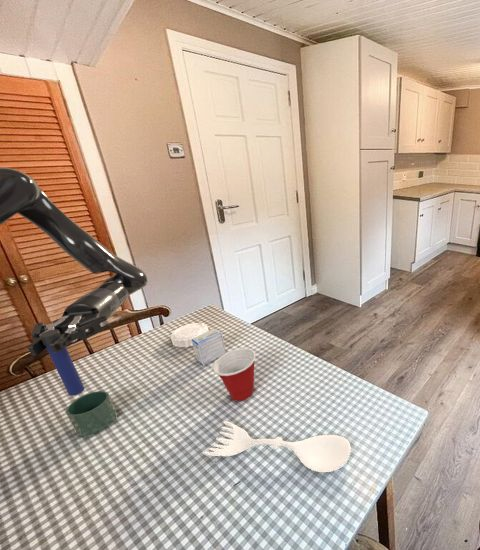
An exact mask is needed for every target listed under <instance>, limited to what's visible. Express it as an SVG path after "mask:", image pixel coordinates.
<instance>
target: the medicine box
mask: <svg viewBox="0 0 480 550" xmlns="http://www.w3.org/2000/svg"><path fill="white" fill-rule="evenodd" d="M192 344H193V346H192V347H193V351H194V354H195V359H196V361H197V362H199V363H200V364H201V365H202V366H205V365H207V364H209V363H211V362H213V361H216V360H217V359H218V358H219V357H220V356H222V355H224V354H225V353H227V351H226V347H225V341H224V337H223V333H222V331H219V330H218V329H216V328H213V329H210V330H209V331H208V332H206V333H204V334H202V335H199V336H197V337H195V338H193V339H192Z"/></svg>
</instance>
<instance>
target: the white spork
mask: <svg viewBox="0 0 480 550" xmlns="http://www.w3.org/2000/svg"><path fill="white" fill-rule="evenodd" d="M222 423H223V424H224V425H226V426H221V429H222V430H223V431H219V434H220V435H222V436H224V437H226V438H223V437H215V440H216V441H217V442H219V443H220V444H217V443H210V445H211V446H212V447H206V448H207V450H208V451H202V453H201V454H203V455H204V456H207V457H233V456H236V455H240V454H241V453H244V452H245V451H246V450H249V449H251V448H253V447H256V446H263V445H264V446H270V447H272V449H273V450H278V449H279V448H281V447H286V448H288V449H290V450H292V451H293V453H294V454H295V456H296V457H297V458H298V460H300V462H301V463H302V464H303V465H304V466H305V467H306V468H308V469H309V470H311V471H314V472H318V473H331V472H335V471H338V470H339V469H341V468H343V467H344V466H345V465H346V464H347V463H348V461H349V459H350V456H351V453H352V447H351V443H350V441H349V440H348V439H347V438H345V437H343V436H341V435H337V434H320V435H314V436H311V437H309V438H305V439H302V440H299V441H287V440H283V437H282V436H277V437H275V438H252V437H250V435H249V433H248V432H247V430H245V429H244V428H242V427H240V426H238V425H236V424H235V423H232V422H230V421H228V420H223V422H222ZM225 431H226V432H225Z"/></svg>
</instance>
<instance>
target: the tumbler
mask: <svg viewBox="0 0 480 550" xmlns="http://www.w3.org/2000/svg"><path fill="white" fill-rule="evenodd" d="M65 415H66V417H67V418H68V420H69V422H70V424H71V426H72V428H73V430H74V432H75V434H76V435H77V436H80V437H88V436H93V435H96V434H98V433H100V432H101V431H102V432H103V431H104V430H105V429H107V428H108V427H109V426H110V425H112V424H114V422H115V420H116V419H117V415H118V412H117V410H116V407H115V405H114V403H113V400H112V398H111V396H110V393H109V392H107V391H105V390H97V391H91V392H89V393H86V394H84V395H82V396H80V397H78V398H76V399H75V400H74V401H72V402H71V403H70V404H68V406H67V407H66V409H65Z"/></svg>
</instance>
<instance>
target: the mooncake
mask: <svg viewBox="0 0 480 550" xmlns="http://www.w3.org/2000/svg"><path fill="white" fill-rule="evenodd" d="M208 331H210V330H209V327H208V325H207V324H205V323H201V322H192V323H187V324H185V325H184V324H183V325H181V326H180V327H177V328H176V329H175V330H173V331H172V332H171V334H170V336H169V337H170V340H171V343H172V346H175V348H180V349H182V348H189V347H193V344H192V339H193V338H195V337H197V336H199V335H202V334H204V333H206V332H208Z"/></svg>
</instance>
